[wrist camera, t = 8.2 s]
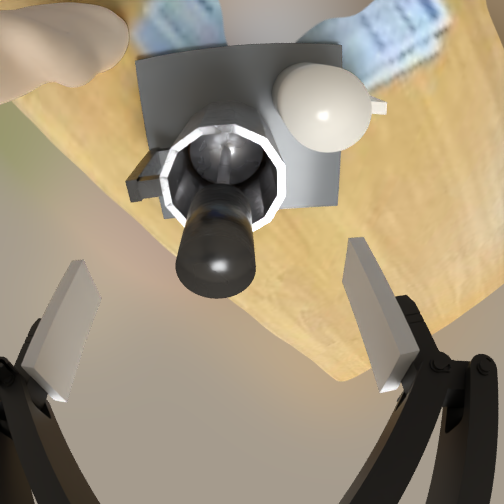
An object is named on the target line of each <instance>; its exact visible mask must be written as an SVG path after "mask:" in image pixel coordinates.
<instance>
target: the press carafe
mask: <svg viewBox="0 0 504 504" xmlns="http://www.w3.org/2000/svg"><path fill="white" fill-rule="evenodd" d="M227 132H234V133H236V134H238V135H241V136H243V137H245V138H247V139H250V140H252V141H254V142H256V143H258V144H261V146H262V147H263V156H262V160H261V163H260V165H259V167H258V169H257V170H256V171H255V173H254V174H253V175H252V176H250V177H249V178H248V179H246V180H244V181H242V182H240V183H237V184H232V186H234V187H237V188H238V189H240V190H241V191H242V192H243V193H244V194H245V195H246V197H247V198H248V200H249V202H250V206H251V216H252V228H253V231H255V230H257V229H258V228H260V227H262V226H263V225H265V224H267V223H269V222H270V221H271V220H272V218H273V216H274V215H275V213H276V211H277V210H278V208H279V206H280V205H281V203H282V201H283V200H284V198H285V196H286V190H285V164H284V162H283V159H282V157H281V154H280V152H279V149H278V147H277V144H276V142H275V139H274V137H273V135H272V132H271V130H270V128H269V126H268V125H267V123H266V122H265V121H264V119H263V118H262V116H261V115H260V113H259V112H258V111H257V110H256V109H254V108H252V107H249V106H247V105H245V104H243V103H240V102H238V101H236V100H233V101H222V102H213V103H210V104H209V105H207V106H206V107H204V108H203V109H202V110H200V111H199V112H197V113H196V114H195V115H193V116H192V117H191V119H190V120H189V121H188V123H187V124H186V126H185V127H184V129H183V130H182V132H181V133H180V135H179V136H178V137H177V139H176V140H175V142H174V143H173V145H172V147H168V148H161V149H160V147H156V148H151V149H150V150H149V152H148V153H147V154H146V155H145V157H144V158H143V159H142V160H141V162H140V163H139V164H138V165H137V167H136V168H135V169H134V171H133V172H132V173H131V175H130V176H129V177H128V178H127V180H126V181H125V182H126V186H127V189H128V193H129V197H130V201H131V202H138V201H142V199H144V198H152V197H160V196H163V197H164V202H165V206H166V208H167V209H168V210H169V211H170V212H171V213H172V214H173V215H174V216H175V217H176V219H177V220H178V221H179V222H180V223H181V224H182V225H183V226H184V227H185V223H186V219H187V215H188V212H189V208H190V204H191V201H192V199H193V197H194V196H195V194H196V193H197V192H198V191H199V190H201V189H202V188H204V187H205V186H208V185H211V184H216V183H213V182H210V181H208V180H207V179H205V178H204V177H202V176H201V175H200V174H199V173H198V172H197V170H196V169H195V168H194V166H193V164H192V161H191V157H190V145H191V142H192V141H194V140H195V139H197V138H198V137H199V136H201V135H207V134H217V133H227ZM162 165H164V166H163V169H162V172H161V174H158V175H157V173H158V172H159V170H160V168H161V167H162Z"/></svg>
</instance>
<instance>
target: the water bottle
mask: <svg viewBox="0 0 504 504" xmlns="http://www.w3.org/2000/svg"><path fill="white" fill-rule="evenodd" d="M128 42H129V31H128V27H127V24H126V23H125V21H124V20H123V19H122V18H120V17H119V16H117V15H116V14H115V13H114V12H112V11H111V10H110V9H107V8H105V7H102V6H98V5H93V4H85V3H73V2H64V3H53V4H43V5H35V6H29V7H24V8H20V9H17V10H2V11H0V104H3V103H6V102H8V101H11V100H14V99H16V98H19V97H21V96H23V95H25V94H27V93H29V92H31V91H32V90H34V89H36V88H37V87H39V86H41V85H43V84H45V83H48V82H56V83H59V84H61V85H64V86H67V87H80V86H83V85H85V84H87V83H88V82H89V81H91V80H92V79H93V78H94V77H95V76H96V75H97V74H98V73H102V72H105V71H107V70H109V69H111V68H112V67H114V66H115V65H116V64H117V63H118V62H119V61H120V60H121V58H122V57H123V55H124V54H125V52H126V49H127V46H128Z"/></svg>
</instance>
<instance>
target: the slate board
mask: <svg viewBox="0 0 504 504" xmlns="http://www.w3.org/2000/svg"><path fill="white" fill-rule="evenodd" d="M303 62H308V63H316V64H323V65H329V66H335V67H339V68H342V45H333V44H312V43H271V44H248V45H235V46H223V47H214V48H205V49H198V50H191V51H184V52H178V53H172V54H166V55H161V56H156V57H151V58H146V59H142V60H137V61H135V65H136V72H137V79H138V86H139V93H140V99H141V106H142V112H143V118H144V124H145V129H146V135H147V140H148V146H149V150H150V149H151V148H156V147H160V149H161V148H168V147H172V145H173V143H174V142H175V140H176V139H177V137H178V136H179V135H180V133H181V132H182V130H183V129H184V127H185V126H186V124H187V123H188V121H189V120H190V119H191V117H192V116H193V115H195V114H196V113H197V112H199V111H200V110H202V109H203V108H204V107H206V106H207V105H209V104H210V103H213V102H222V101H233V100H236V101H238V102H240V103H243V104H245V105H247V106H249V107H252V108H254V109H256V110H257V111H258V112H259V113H260V115H261V116H262V118H263V119H264V121H265V122H266V123H267V125H268V126H269V128H270V130H271V132H272V135H273V137H274V139H275V142H276V144H277V147H278V149H279V152H280V154H281V157H282V159H283V162H284V164H285V190H286V196H285V198H284V200H283V201H282V203H281V205H280V206H279V208H278V209H288V208H304V207H321V206H337V205H338V191H339V175H340V157H341V151H337V152H329V153H327V152H318V151H315V150H312V149H309V148H307V147H305V146H304V145H302V144H301V143H300V142H298V141H297V140H296V139H295V138H294V136H293V135H292V134H291V132H290V131H289V129H288V128H287V126H286V125H285V123H284V122H283V120H282V119H281V117H280V115H279V114H278V112H277V111H276V109H275V107H274V104H273V100H272V89H273V85H274V82H275V80H276V78H277V77H278V75H279V74H280V73H281V72H282V71H283V70H284V69H286V68H287V67H289V66H291V65H294V64H297V63H303ZM163 166H164V165H162V167H161V168H160V170H159V172H158V173H157V175H158V174H161V172H162V169H163ZM159 199H160V203H161V208H162V212H163V216H164V219H169V218H176V217H175V216H174V215H173V214H172V213H171V212H170V211H169V210H168V209H167V208H166V206H165V202H164V197H163V196H160V197H159Z"/></svg>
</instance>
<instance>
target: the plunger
mask: <svg viewBox="0 0 504 504" xmlns="http://www.w3.org/2000/svg"><path fill="white" fill-rule="evenodd" d="M262 156H263V147H262V146H261V144H258V143H256V142H254V141H252V140H250V139H247V138H245V137H243V136H241V135H238V134H236V133H234V132H227V133H217V134H207V135H201V136H199V137H198V138H197V139H195V140H194V141H192V142H191V145H190V157H191V161H192V164H193V166H194V168H195V169H196V170H197V172H198V173H199V174H200V175H201V176H202V177H204V178H205V179H207V180H208V181H210V182H213V183H216V184H211V185H208V186H205V187H204V188H202V189H201V190H199V191H198V192H197V193H196V194H195V196H194V197H193V199H192V201H191V204H190V208H189V212H188V215H187V219H186V223H185V227H184V231H183V235H182V239H181V243H180V247H179V251H178V255H177V259H176V273H177V276H178V278H179V279H180V281H181V282H182V283H183V285H184V286H185V287H186V288H187V289H189V290H190V291H192V292H194V293H195V294H198V295H200V296H203V297H207V298H215V299H218V298H227V297H231V296H234V295H237V294H239V293H240V292H242V291H244V290H245V289H246V288H247V287H248V286H249V285H250V284H251V282H252V281H253V279H254V276H255V272H256V264H255V252H254V240H253V228H252V216H251V206H250V202H249V200H248V198H247V197H246V195H245V194H244V193H243V192H242V191H241V190H240V189H238V188H237V187H234V186H232V184H237V183H240V182H242V181H244V180H246V179H248V178H249V177H250V176H252V175H253V174H254V173H255V171H256V170H257V169H258V167H259V165H260V163H261V160H262Z"/></svg>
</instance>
